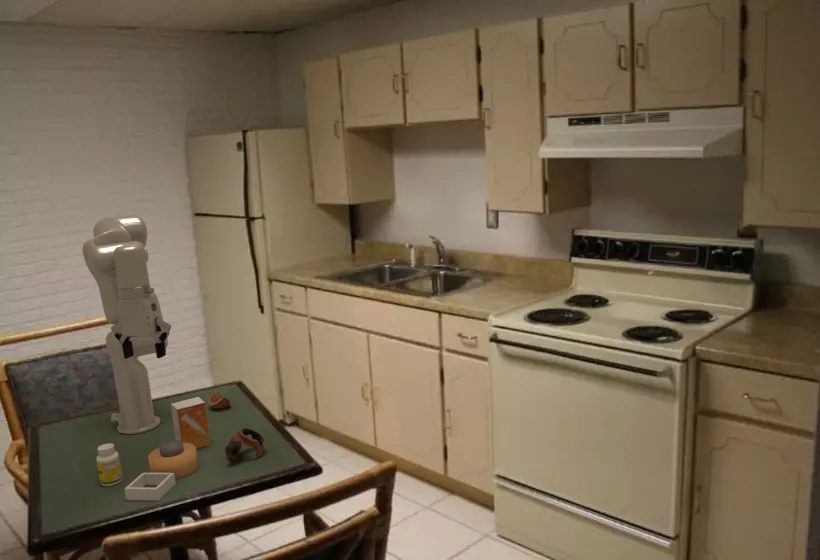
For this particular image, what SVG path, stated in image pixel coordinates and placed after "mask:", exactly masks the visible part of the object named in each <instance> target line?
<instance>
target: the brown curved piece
mask: <svg viewBox="0 0 820 560" xmlns="http://www.w3.org/2000/svg"><path fill="white" fill-rule="evenodd" d="M248 436H251V438H250V437H248ZM264 442H265V438H264V437H263V435H261V433H259V432H258V431H256V430H255V429H254V430H253V429H251V428H246V427H245V428H244V427H243V428H239V431H238V432H237V433H234V435H232V436H231V438H230V439H229V442H228V444H227V445H226V447H225V448H224V453H225V456H226V459H227V461H229V460H230V461H231V460H232V461H235V460H238V456H239V453H240V452H241V450H242V446H246V447H248V448H253V449H255V450H256V455H255V457H256V458H259V457H261V455H262V452H263V451H264Z"/></svg>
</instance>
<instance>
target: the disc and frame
mask: <svg viewBox="0 0 820 560" xmlns="http://www.w3.org/2000/svg"><path fill="white" fill-rule="evenodd" d="M147 457H148V458H147V459H148V464H149V471H150V472H142V473H141V474H140V475H138V476H137V477H136V478H135V479H134V480H133V481H132V482H130V483H129V484H128V485H127V486H126V487H125V488H124V493H125V500H126V501H147V502H148V501H150V502H152V501H153V502H155V501H156V502H158V501H160V500H161V499H162V498H163V497H164V496H165V495H167V493H168V492H170V490H171V489H172V488H173V487H174V486H176V484H177V483H176V480H177V479H182V478H184V477H188V476H189V475H191V474H193V473H195V471H197V470H198V468H199V461H198V454H197V449H196V447H195V445H193V444H190V443H183V442H182V441H178V440H176V439H175V440H170V441H166V442H163V443H162V444H160V445H159V447H158V448H155V449H154V450H152V451H150V453H149V454H148V456H147ZM145 486H156V487H145Z"/></svg>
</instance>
